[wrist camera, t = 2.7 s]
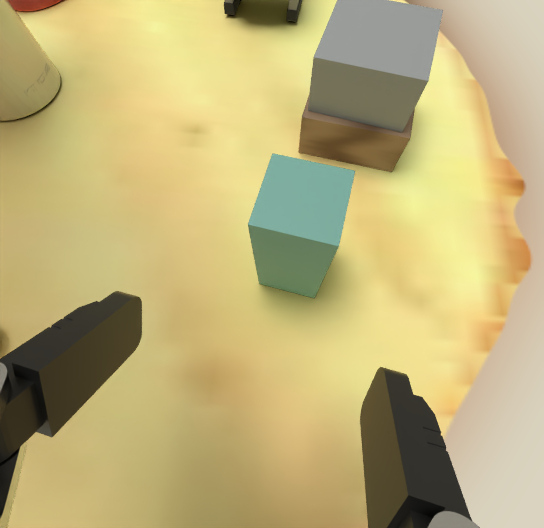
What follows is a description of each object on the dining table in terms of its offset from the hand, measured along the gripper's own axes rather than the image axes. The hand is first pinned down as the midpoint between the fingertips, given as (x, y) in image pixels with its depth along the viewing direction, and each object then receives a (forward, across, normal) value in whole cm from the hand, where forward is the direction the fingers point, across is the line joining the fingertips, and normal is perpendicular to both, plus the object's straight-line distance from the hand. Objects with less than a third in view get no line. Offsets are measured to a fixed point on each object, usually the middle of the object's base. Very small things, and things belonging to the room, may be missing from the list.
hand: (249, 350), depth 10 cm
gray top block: (+24, -2, -11) cm, 26 cm away
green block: (+15, 0, +3) cm, 15 cm away
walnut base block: (+27, -2, -8) cm, 28 cm away
